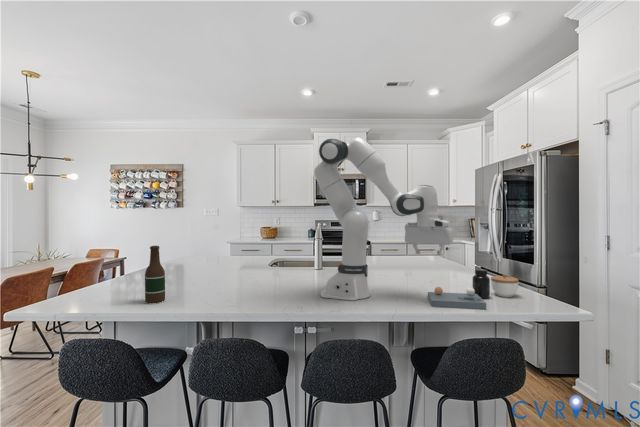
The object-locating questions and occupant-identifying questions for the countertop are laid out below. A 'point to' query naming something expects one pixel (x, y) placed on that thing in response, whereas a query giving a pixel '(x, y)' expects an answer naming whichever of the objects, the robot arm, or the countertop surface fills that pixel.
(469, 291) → the cream ball
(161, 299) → the beer bottle
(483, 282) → the supplement bottle
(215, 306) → the countertop surface
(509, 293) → the lidded jar
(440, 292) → the terracotta ball
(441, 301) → the plate
